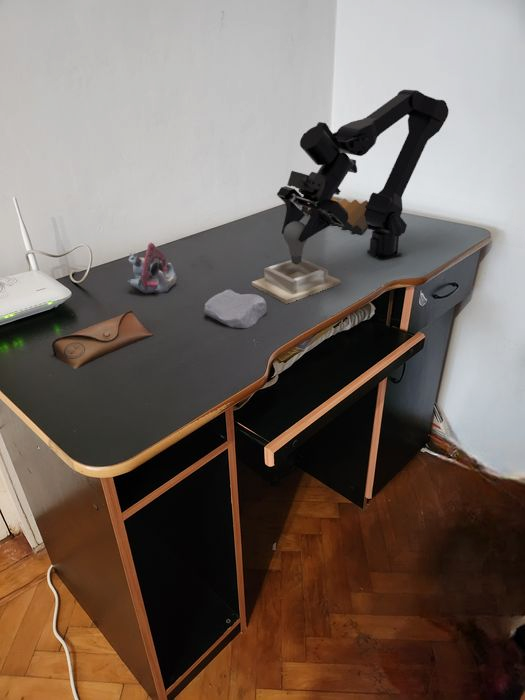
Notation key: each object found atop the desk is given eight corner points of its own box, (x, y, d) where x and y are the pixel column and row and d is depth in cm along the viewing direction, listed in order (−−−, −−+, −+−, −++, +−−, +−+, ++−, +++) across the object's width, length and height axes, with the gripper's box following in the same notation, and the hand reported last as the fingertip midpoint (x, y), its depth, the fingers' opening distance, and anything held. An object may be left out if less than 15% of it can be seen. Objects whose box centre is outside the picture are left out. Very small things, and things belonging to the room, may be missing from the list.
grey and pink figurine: (171, 290, 119) (135, 247, 116) (141, 312, 125) (106, 272, 122) (191, 270, 129) (158, 230, 126) (162, 292, 134) (130, 254, 131)
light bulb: (303, 258, 125) (302, 216, 120) (312, 266, 121) (312, 223, 115) (281, 261, 124) (279, 219, 119) (289, 270, 119) (288, 227, 114)
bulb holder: (304, 268, 133) (304, 252, 131) (340, 284, 124) (340, 268, 122) (252, 285, 125) (251, 269, 123) (286, 304, 116) (286, 287, 114)
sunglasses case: (74, 370, 96) (58, 336, 96) (63, 374, 102) (48, 342, 101) (156, 334, 107) (142, 303, 106) (142, 339, 113) (129, 310, 112)
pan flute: (362, 237, 153) (381, 211, 172) (362, 225, 151) (382, 201, 170) (281, 228, 162) (308, 205, 181) (281, 217, 160) (308, 195, 179)
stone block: (247, 339, 108) (271, 310, 114) (242, 320, 105) (267, 292, 111) (200, 328, 114) (225, 301, 120) (195, 310, 111) (221, 283, 117)
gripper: (282, 149, 118) (244, 209, 119) (340, 162, 105) (297, 229, 106) (309, 178, 126) (274, 234, 127) (366, 193, 113) (326, 256, 114)
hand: (291, 237), depth 118 cm, fingers closed on light bulb, 5 cm apart
